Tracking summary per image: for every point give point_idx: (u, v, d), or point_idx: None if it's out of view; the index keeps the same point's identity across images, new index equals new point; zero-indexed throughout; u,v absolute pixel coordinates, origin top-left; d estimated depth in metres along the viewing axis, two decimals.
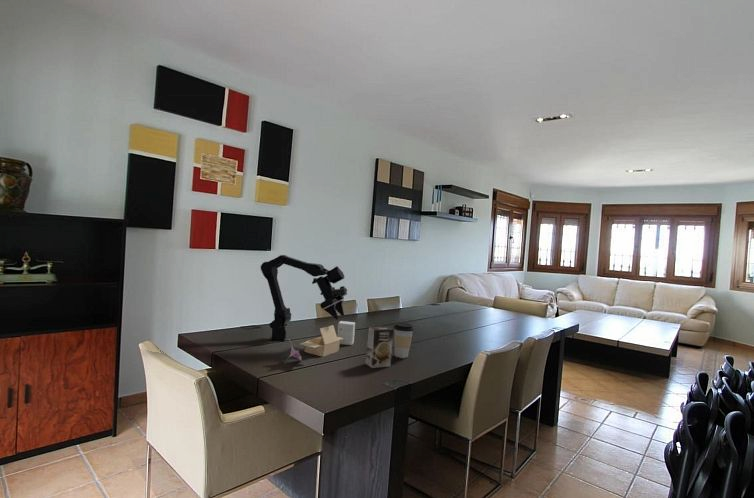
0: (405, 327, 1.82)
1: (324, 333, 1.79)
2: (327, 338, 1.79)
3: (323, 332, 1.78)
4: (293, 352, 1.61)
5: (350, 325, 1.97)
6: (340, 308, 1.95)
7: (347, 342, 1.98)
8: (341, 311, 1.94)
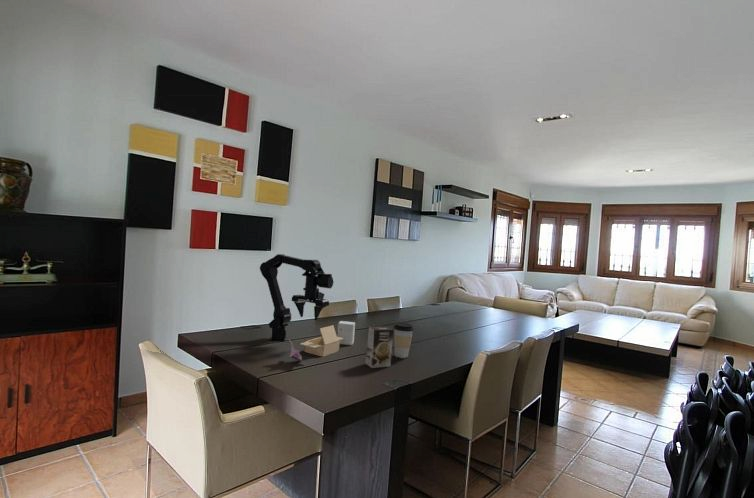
0: (405, 327, 1.82)
1: (324, 333, 1.79)
2: (327, 338, 1.79)
3: (323, 332, 1.78)
4: (293, 352, 1.61)
5: (350, 325, 1.97)
6: (302, 309, 1.93)
7: (347, 342, 1.98)
8: (302, 312, 1.93)
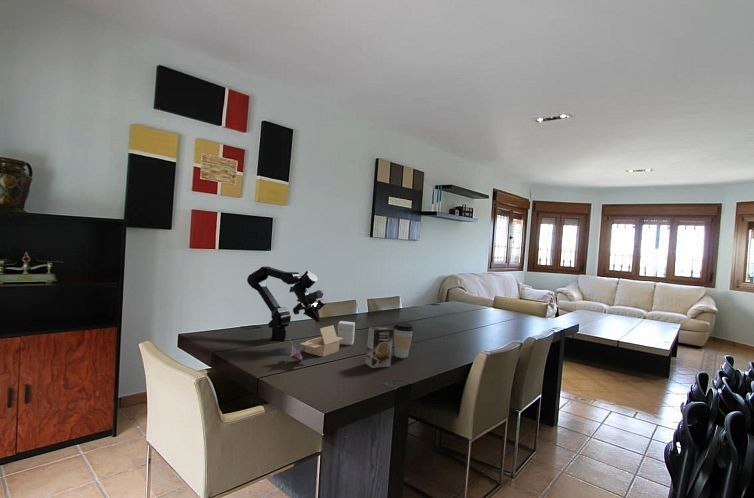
0: (405, 327, 1.82)
1: (324, 333, 1.79)
2: (327, 338, 1.79)
3: (323, 332, 1.78)
4: (294, 352, 1.61)
5: (350, 325, 1.97)
6: None
7: (347, 342, 1.98)
8: None
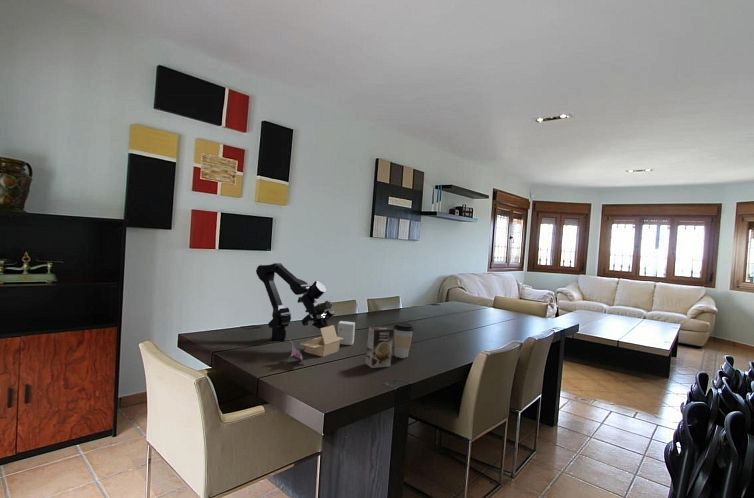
0: (405, 327, 1.82)
1: (324, 333, 1.79)
2: (327, 338, 1.79)
3: (323, 332, 1.78)
4: (294, 352, 1.61)
5: (350, 325, 1.97)
6: None
7: (347, 342, 1.98)
8: None
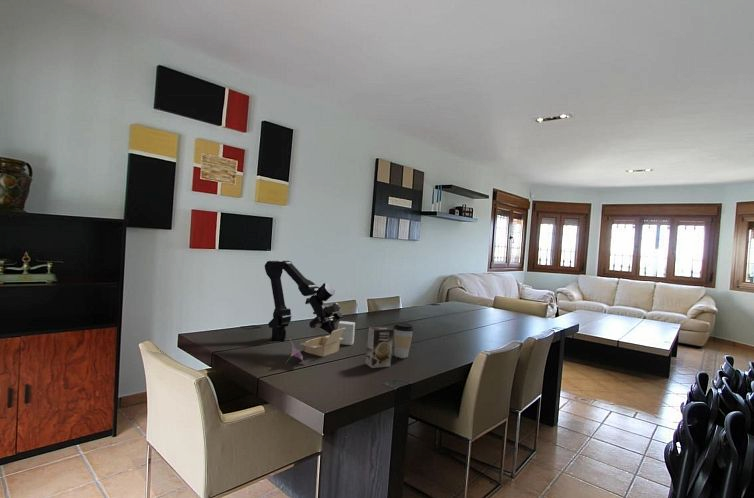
0: (405, 327, 1.82)
1: (332, 335, 1.77)
2: (331, 339, 1.78)
3: (332, 334, 1.76)
4: (294, 352, 1.61)
5: (350, 325, 1.97)
6: None
7: (347, 342, 1.98)
8: None
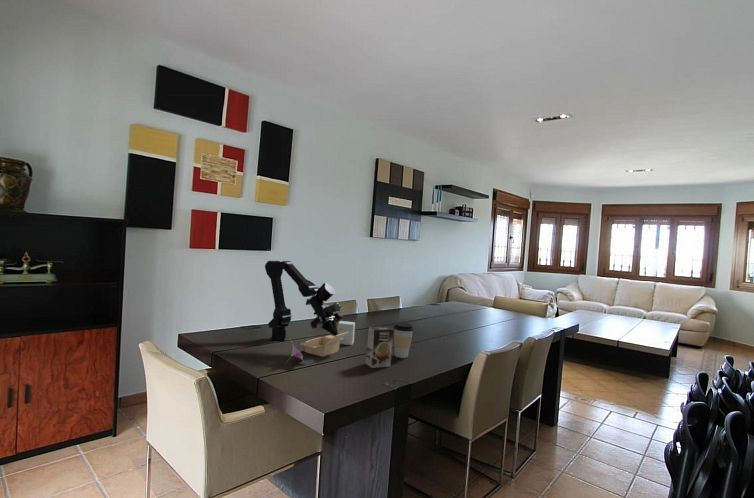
0: (405, 327, 1.82)
1: (334, 338, 1.76)
2: (332, 341, 1.78)
3: (334, 337, 1.75)
4: (294, 352, 1.61)
5: (350, 325, 1.97)
6: None
7: (347, 342, 1.98)
8: None
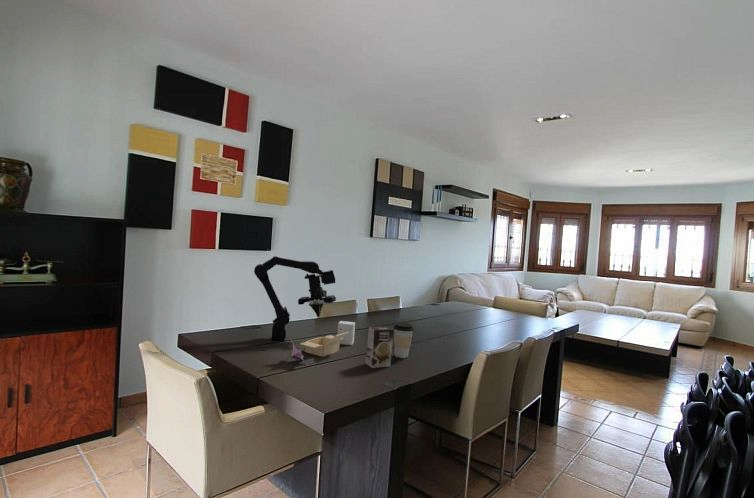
0: (405, 327, 1.82)
1: (334, 338, 1.76)
2: (332, 341, 1.78)
3: (335, 338, 1.75)
4: (295, 351, 1.62)
5: (350, 325, 1.97)
6: None
7: (347, 342, 1.98)
8: None
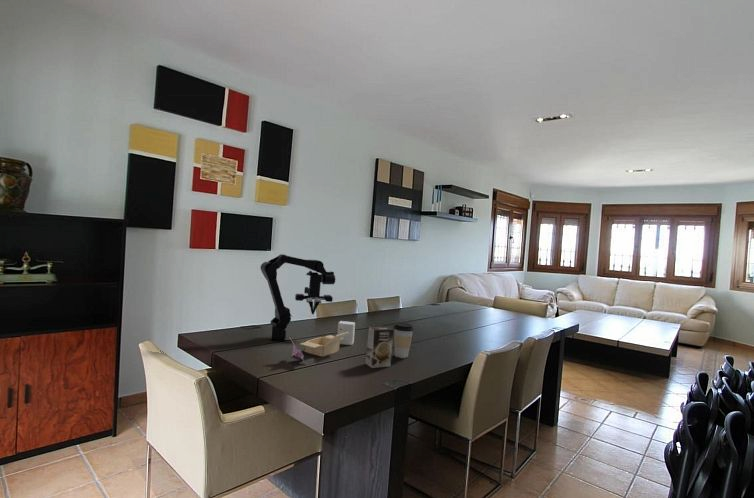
0: (405, 327, 1.82)
1: (334, 338, 1.76)
2: (332, 341, 1.78)
3: (335, 338, 1.75)
4: (295, 351, 1.62)
5: (350, 325, 1.97)
6: None
7: (347, 342, 1.98)
8: None
